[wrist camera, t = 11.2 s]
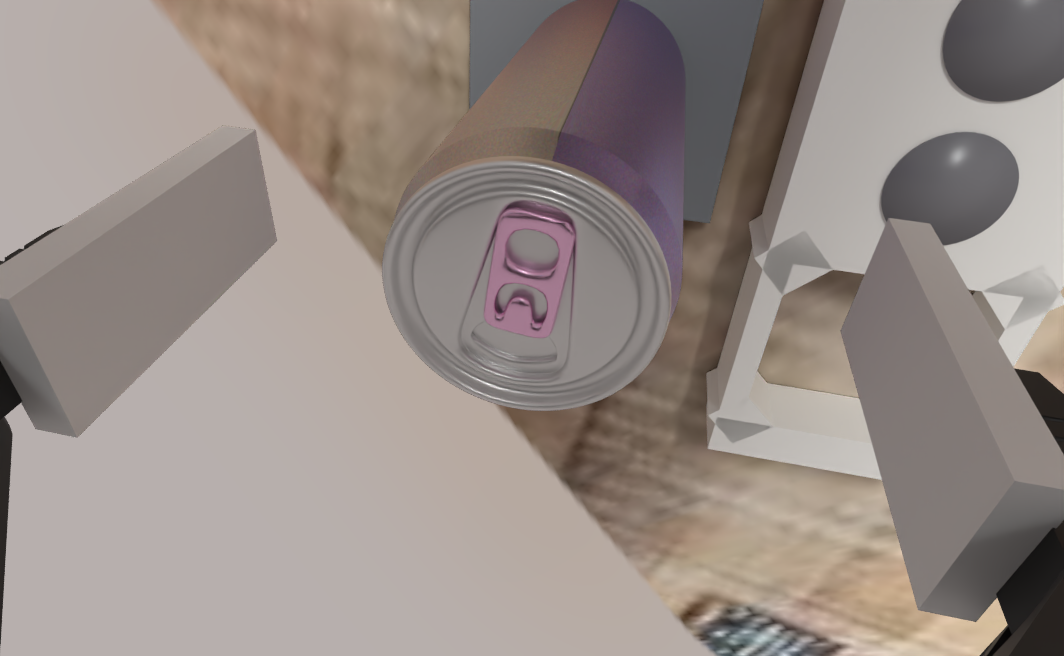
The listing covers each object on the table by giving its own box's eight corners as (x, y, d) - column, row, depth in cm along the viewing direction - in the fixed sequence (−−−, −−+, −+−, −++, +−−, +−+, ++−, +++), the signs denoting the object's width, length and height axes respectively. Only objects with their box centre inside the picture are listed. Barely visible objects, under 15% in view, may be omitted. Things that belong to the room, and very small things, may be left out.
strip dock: (965, -550, 16) (1026, -638, 13) (1497, -544, 14) (1696, -639, 12) (697, 403, 33) (698, 456, 31) (927, 443, 32) (950, 502, 29)
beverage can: (708, 14, 23) (729, 199, 11) (658, 175, 26) (632, 448, 14) (538, -26, 23) (376, 113, 11) (511, 139, 27) (366, 378, 15)
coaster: (475, -91, 23) (470, -90, 22) (776, -63, 22) (778, -61, 21) (472, 183, 29) (468, 189, 28) (709, 216, 28) (709, 223, 27)
